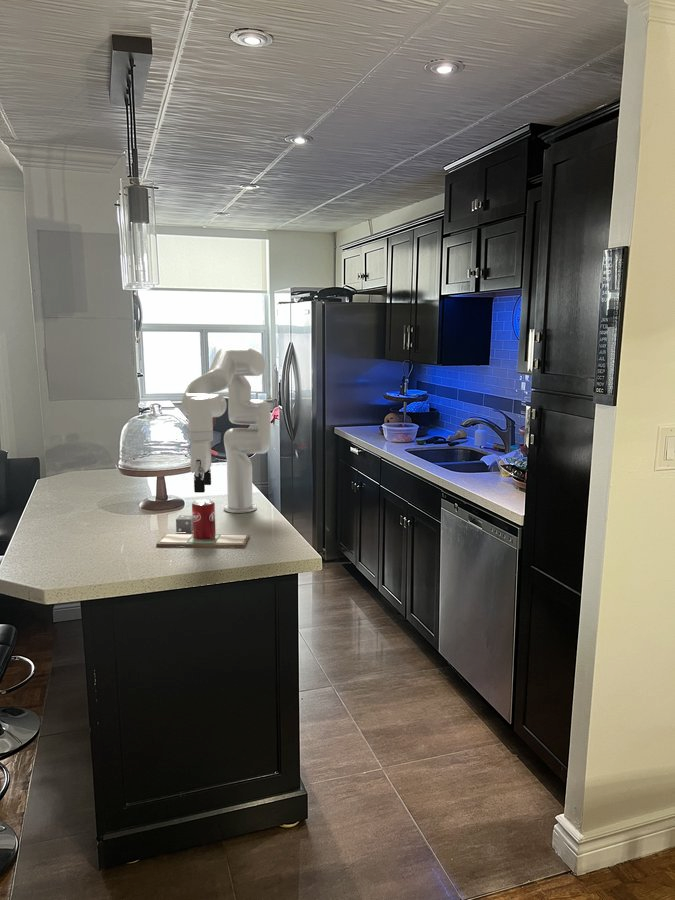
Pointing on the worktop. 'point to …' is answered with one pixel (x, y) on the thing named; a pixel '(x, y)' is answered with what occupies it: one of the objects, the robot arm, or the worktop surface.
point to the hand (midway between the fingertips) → (203, 488)
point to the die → (184, 524)
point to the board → (189, 541)
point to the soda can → (203, 520)
